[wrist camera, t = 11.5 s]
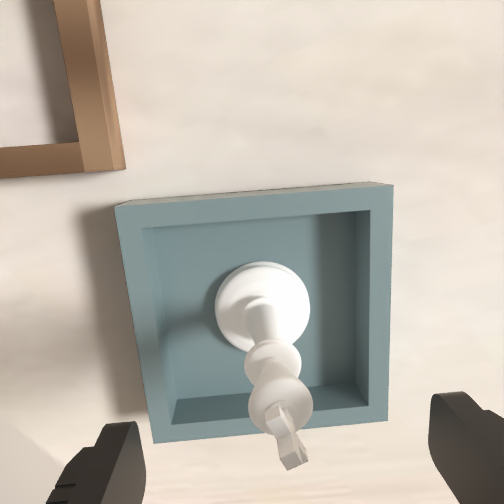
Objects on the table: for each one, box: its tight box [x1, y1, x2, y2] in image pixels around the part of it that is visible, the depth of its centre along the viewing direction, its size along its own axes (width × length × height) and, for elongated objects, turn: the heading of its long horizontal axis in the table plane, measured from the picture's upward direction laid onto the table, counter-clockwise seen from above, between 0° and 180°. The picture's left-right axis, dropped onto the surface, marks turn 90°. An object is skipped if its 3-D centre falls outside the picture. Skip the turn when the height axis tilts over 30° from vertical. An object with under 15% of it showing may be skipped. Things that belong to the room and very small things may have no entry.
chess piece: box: [215, 261, 313, 471], centre depth 14 cm, size 5×5×10 cm
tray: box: [114, 182, 394, 444], centre depth 18 cm, size 12×12×3 cm
